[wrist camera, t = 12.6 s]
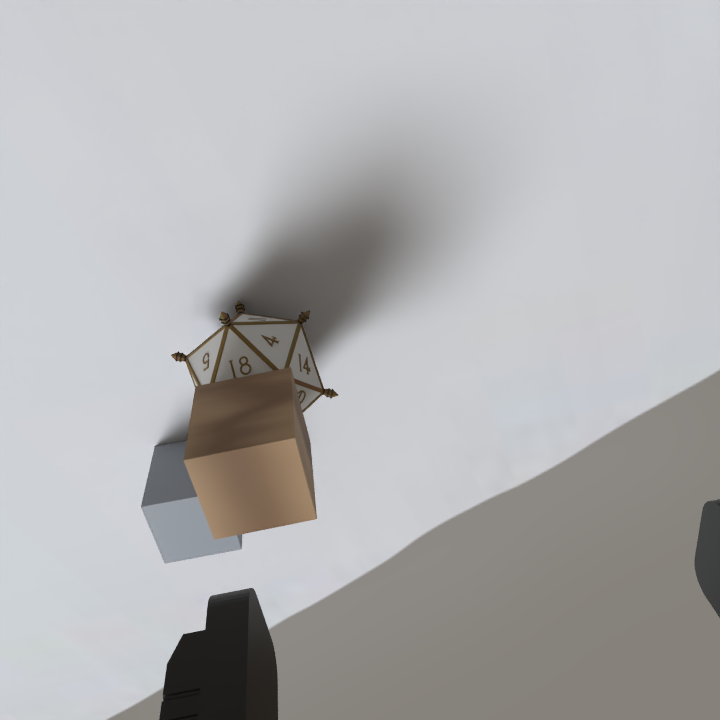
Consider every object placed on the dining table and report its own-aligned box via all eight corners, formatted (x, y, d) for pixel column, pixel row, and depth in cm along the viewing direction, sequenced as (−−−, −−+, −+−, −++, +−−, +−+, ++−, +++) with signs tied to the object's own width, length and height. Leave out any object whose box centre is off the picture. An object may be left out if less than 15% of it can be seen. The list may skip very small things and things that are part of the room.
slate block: (227, 432, 47) (222, 492, 42) (244, 486, 49) (241, 549, 44) (154, 445, 47) (141, 507, 42) (175, 499, 49) (164, 563, 44)
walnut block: (290, 367, 35) (294, 437, 30) (310, 442, 38) (316, 518, 33) (195, 386, 35) (183, 460, 30) (221, 459, 38) (214, 539, 33)
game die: (265, 288, 46) (336, 273, 37) (306, 407, 47) (383, 418, 39) (135, 334, 42) (182, 329, 33) (185, 462, 43) (242, 489, 34)
